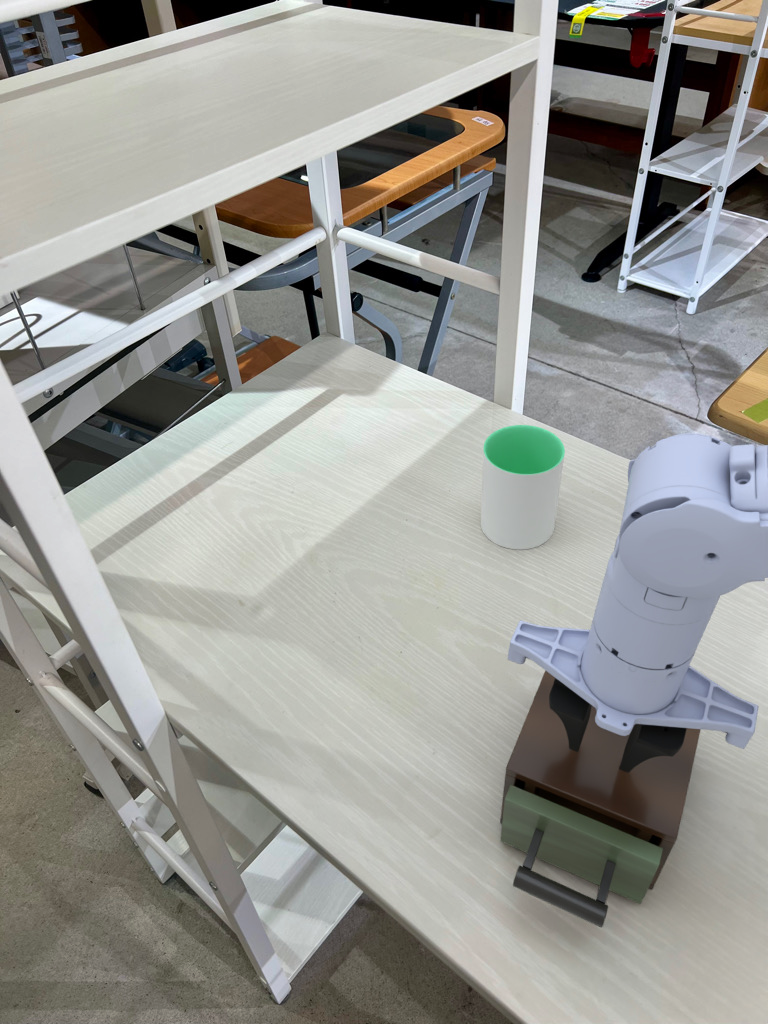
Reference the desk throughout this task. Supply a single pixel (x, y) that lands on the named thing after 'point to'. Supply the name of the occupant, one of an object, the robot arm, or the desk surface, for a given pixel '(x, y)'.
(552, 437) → the mug
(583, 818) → the drawer
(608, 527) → the desk surface
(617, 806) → the cabinet
